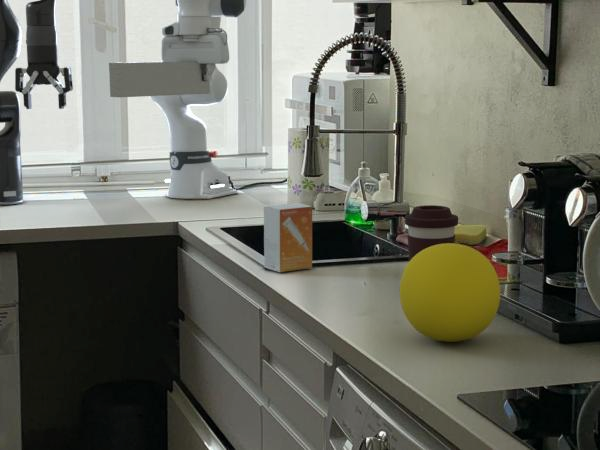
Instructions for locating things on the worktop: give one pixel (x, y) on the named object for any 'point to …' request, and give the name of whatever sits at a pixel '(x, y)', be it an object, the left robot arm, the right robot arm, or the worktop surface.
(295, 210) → the small box
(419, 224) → the coffee cup
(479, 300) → the toy
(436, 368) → the worktop surface
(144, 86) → the bar
